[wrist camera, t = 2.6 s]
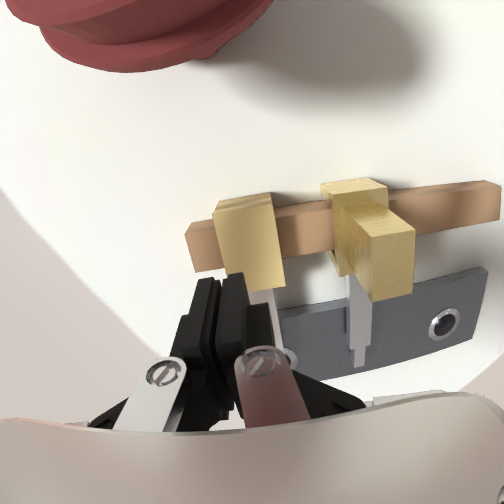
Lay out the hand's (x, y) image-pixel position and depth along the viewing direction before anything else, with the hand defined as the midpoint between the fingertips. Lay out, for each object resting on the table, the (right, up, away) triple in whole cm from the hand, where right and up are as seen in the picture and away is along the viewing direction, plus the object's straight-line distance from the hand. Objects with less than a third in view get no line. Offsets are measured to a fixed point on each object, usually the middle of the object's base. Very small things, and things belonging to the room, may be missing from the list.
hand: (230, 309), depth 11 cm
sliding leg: (+7, +1, +8) cm, 11 cm away
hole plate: (+11, -4, +10) cm, 15 cm away
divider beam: (+8, +1, +8) cm, 12 cm away
